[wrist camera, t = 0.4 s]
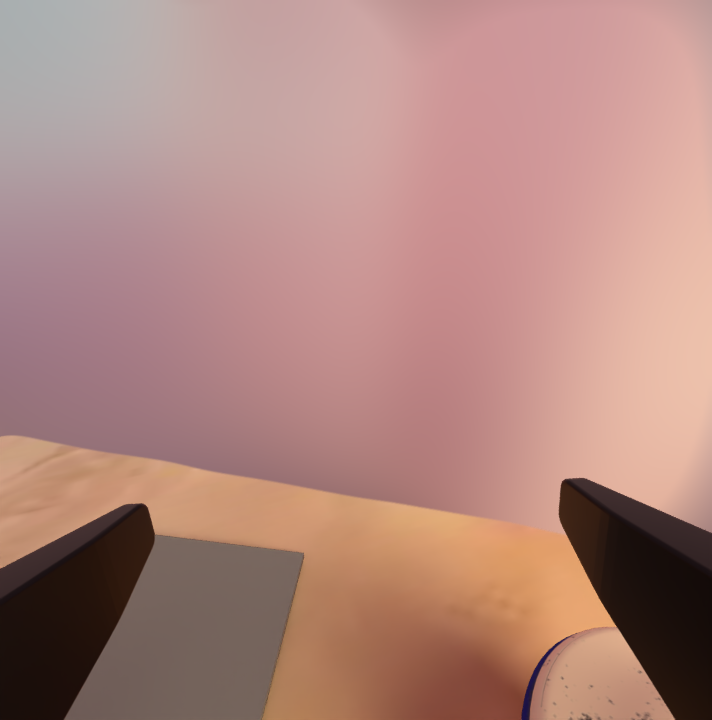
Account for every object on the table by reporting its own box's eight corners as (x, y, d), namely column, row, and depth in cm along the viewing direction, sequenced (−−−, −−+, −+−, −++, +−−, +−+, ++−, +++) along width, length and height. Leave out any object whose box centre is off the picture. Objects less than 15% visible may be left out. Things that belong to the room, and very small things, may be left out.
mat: (225, 860, 13) (223, 857, 13) (-71, 801, 14) (-76, 797, 14) (303, 557, 24) (303, 553, 24) (133, 535, 25) (132, 531, 25)
